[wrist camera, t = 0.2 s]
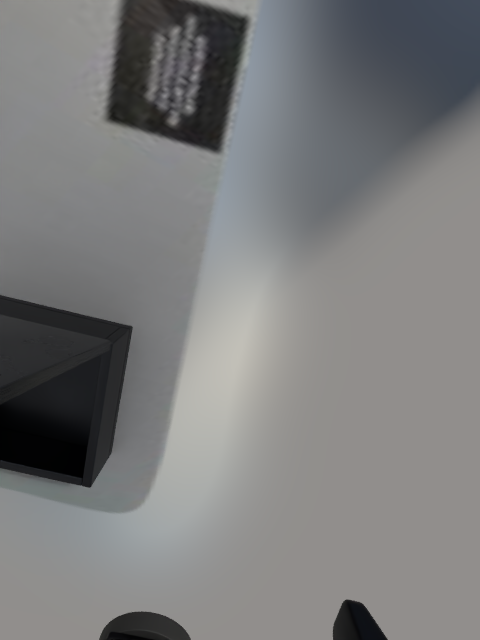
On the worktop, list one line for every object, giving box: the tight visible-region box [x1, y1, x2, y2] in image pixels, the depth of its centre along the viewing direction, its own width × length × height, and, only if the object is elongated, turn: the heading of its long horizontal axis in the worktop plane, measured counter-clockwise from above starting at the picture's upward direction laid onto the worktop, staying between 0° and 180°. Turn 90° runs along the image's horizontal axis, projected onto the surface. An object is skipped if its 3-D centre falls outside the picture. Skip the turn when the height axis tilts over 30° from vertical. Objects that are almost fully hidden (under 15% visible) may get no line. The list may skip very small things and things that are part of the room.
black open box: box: [0, 295, 132, 488], centre depth 23 cm, size 10×10×4 cm
